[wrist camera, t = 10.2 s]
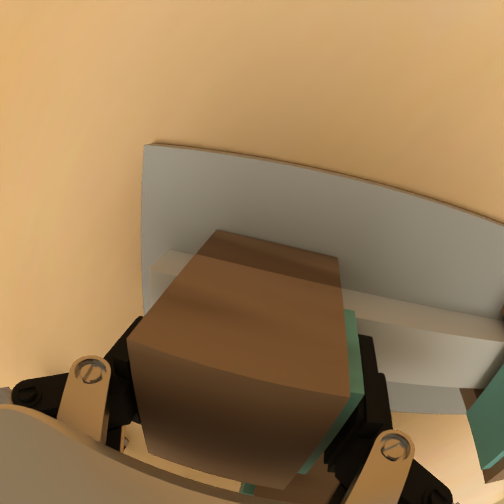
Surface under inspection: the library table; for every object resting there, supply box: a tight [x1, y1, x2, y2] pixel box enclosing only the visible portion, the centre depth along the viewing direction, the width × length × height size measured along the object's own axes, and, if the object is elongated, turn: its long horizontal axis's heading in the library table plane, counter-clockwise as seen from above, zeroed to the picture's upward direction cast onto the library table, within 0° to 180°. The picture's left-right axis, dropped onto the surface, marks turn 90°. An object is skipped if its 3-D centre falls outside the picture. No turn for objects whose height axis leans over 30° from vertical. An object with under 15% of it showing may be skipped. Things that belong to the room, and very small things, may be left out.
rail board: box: [141, 143, 504, 484], centre depth 10 cm, size 12×25×8 cm, turn 83°
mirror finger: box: [239, 452, 339, 504], centre depth 15 cm, size 6×6×7 cm
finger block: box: [127, 230, 364, 490], centre depth 10 cm, size 6×6×7 cm
